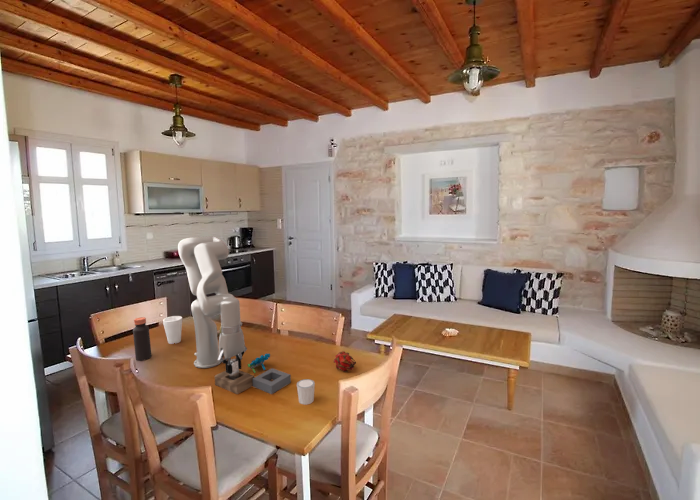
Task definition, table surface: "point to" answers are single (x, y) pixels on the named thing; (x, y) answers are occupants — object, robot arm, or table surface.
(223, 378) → the brown rectangular frame
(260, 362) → the gear
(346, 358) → the dragon fruit
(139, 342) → the bottle
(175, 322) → the foam cup
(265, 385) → the socket block
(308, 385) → the white fluted cup
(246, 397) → the table surface
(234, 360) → the axle
